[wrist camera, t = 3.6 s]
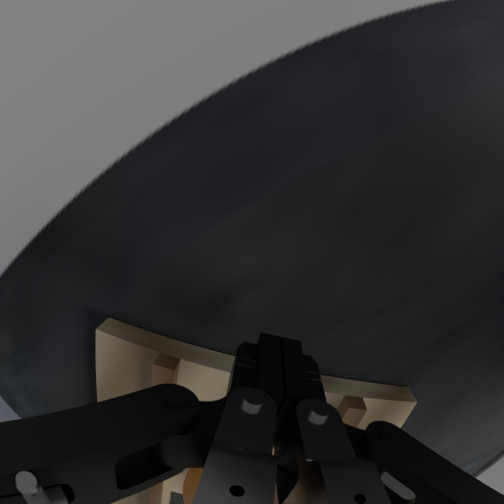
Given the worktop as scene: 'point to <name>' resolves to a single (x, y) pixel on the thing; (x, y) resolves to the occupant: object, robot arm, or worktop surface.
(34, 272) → the worktop surface
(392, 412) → the beige tray
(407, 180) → the worktop surface
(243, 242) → the worktop surface
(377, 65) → the worktop surface
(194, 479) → the ball
